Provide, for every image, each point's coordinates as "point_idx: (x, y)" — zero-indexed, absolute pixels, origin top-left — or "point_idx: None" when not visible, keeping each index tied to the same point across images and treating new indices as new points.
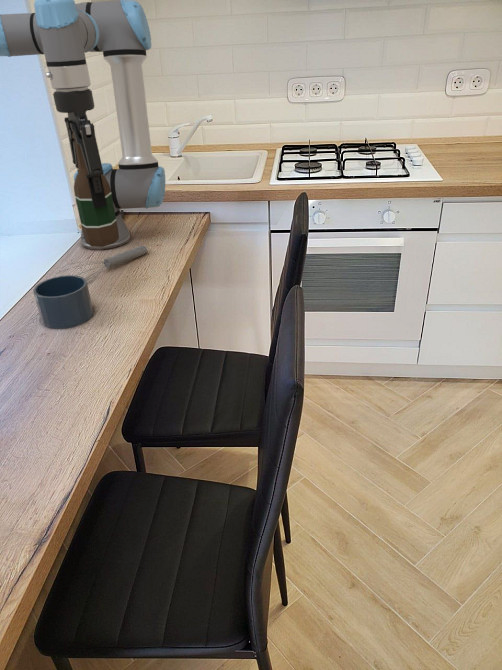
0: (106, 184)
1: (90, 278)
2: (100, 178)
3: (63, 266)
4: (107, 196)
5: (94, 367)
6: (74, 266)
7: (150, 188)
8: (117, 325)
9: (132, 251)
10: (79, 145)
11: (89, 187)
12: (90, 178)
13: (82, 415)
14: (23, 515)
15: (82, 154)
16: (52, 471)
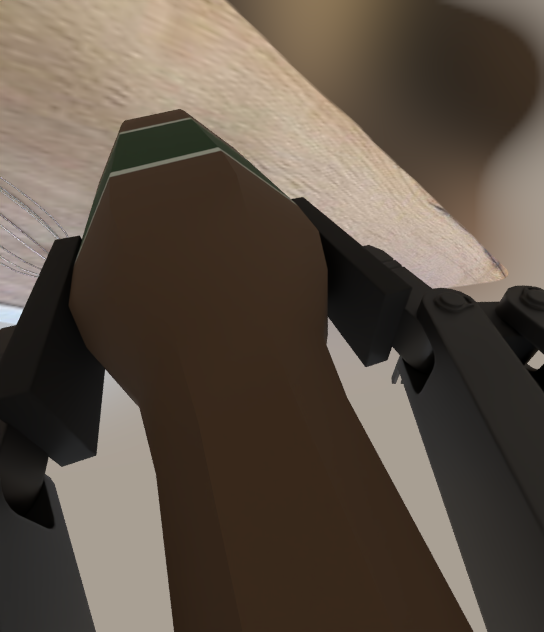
0: (278, 205)
1: (1, 177)
2: (396, 282)
3: (6, 260)
4: (277, 190)
5: (359, 212)
6: (9, 231)
7: None
8: (266, 154)
9: None
10: None
11: (333, 320)
12: (386, 345)
13: (424, 234)
14: (473, 276)
15: (468, 560)
16: (458, 260)
